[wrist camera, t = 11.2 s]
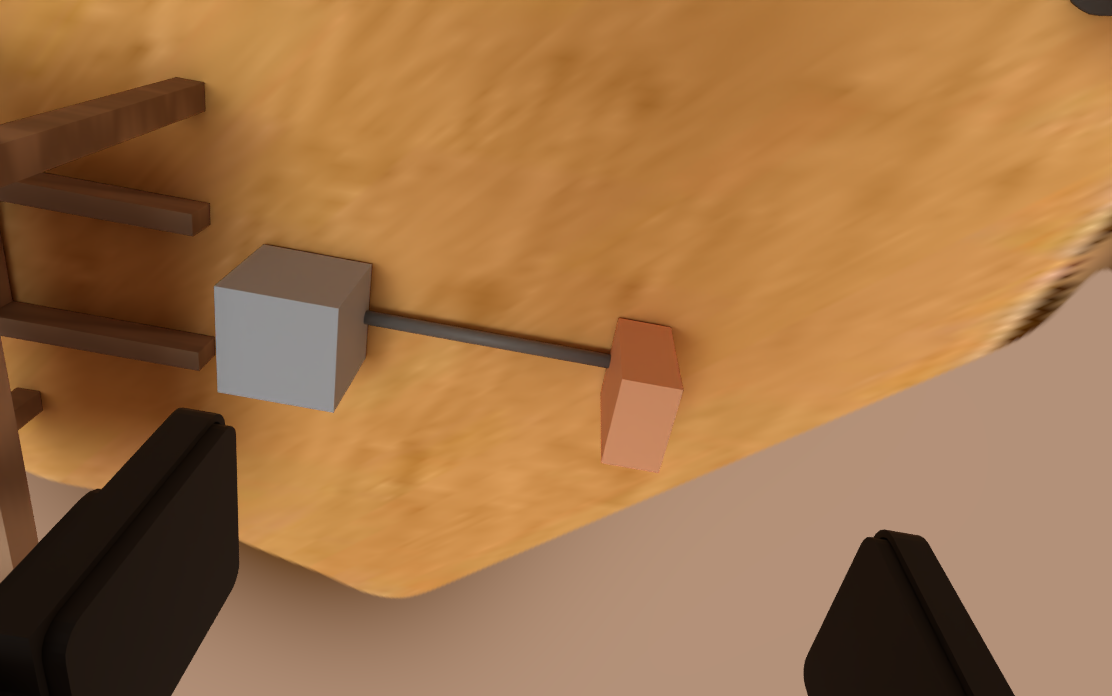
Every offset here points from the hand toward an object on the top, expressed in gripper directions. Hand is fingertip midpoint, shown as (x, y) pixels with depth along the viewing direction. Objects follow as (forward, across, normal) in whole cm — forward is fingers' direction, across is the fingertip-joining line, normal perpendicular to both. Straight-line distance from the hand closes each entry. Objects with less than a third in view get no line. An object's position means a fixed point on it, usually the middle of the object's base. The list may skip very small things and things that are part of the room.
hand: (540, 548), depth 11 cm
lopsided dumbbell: (+30, +4, +12) cm, 33 cm away
